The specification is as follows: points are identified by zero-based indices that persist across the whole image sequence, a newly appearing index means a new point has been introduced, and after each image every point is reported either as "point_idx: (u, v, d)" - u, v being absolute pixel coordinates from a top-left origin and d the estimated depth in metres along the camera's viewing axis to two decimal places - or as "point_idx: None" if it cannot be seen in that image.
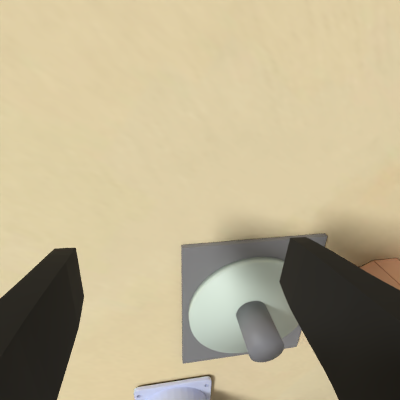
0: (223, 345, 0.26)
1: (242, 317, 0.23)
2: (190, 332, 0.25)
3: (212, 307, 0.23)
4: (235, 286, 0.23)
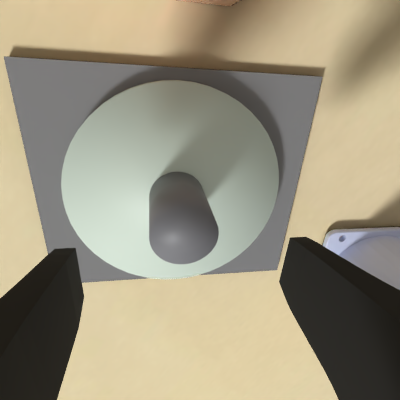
0: (244, 231, 0.16)
1: None
2: None
3: (154, 254, 0.16)
4: (112, 227, 0.15)
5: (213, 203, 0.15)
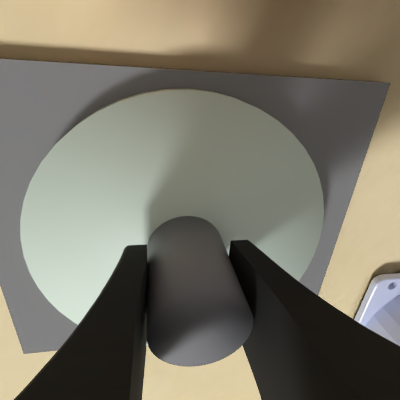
0: None
1: None
2: None
3: None
4: (97, 289, 0.11)
5: None
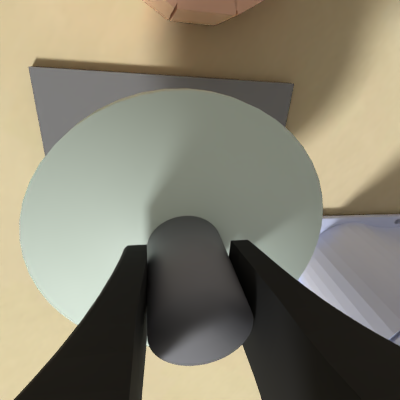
0: None
1: None
2: None
3: None
4: (97, 290, 0.11)
5: None
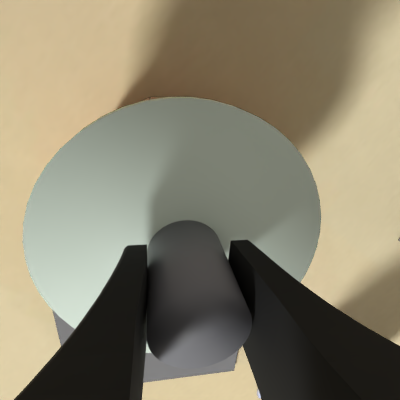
0: None
1: None
2: (186, 371, 0.25)
3: None
4: (97, 293, 0.11)
5: None
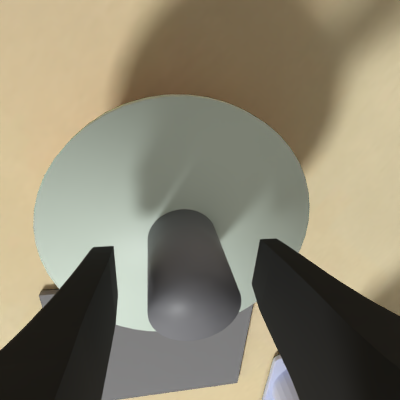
0: None
1: None
2: (188, 384, 0.24)
3: None
4: None
5: (227, 245, 0.12)
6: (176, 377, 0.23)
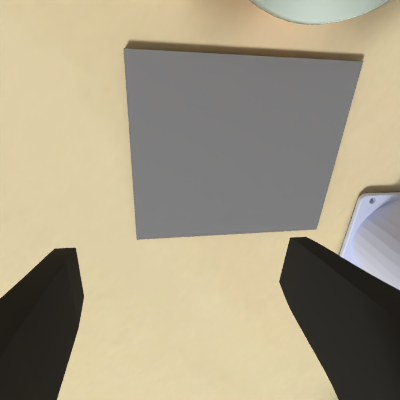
0: None
1: None
2: (265, 224, 0.21)
3: None
4: None
5: None
6: (254, 210, 0.20)
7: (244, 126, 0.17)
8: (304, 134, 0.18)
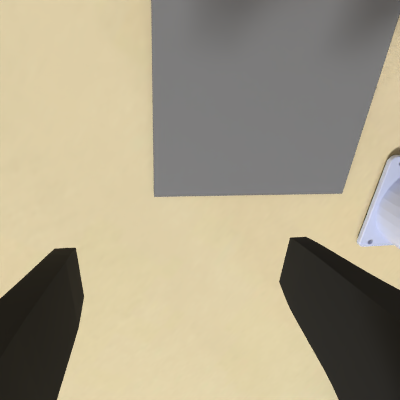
0: None
1: None
2: (289, 185, 0.20)
3: None
4: None
5: None
6: (279, 169, 0.19)
7: (274, 70, 0.16)
8: (337, 83, 0.17)
